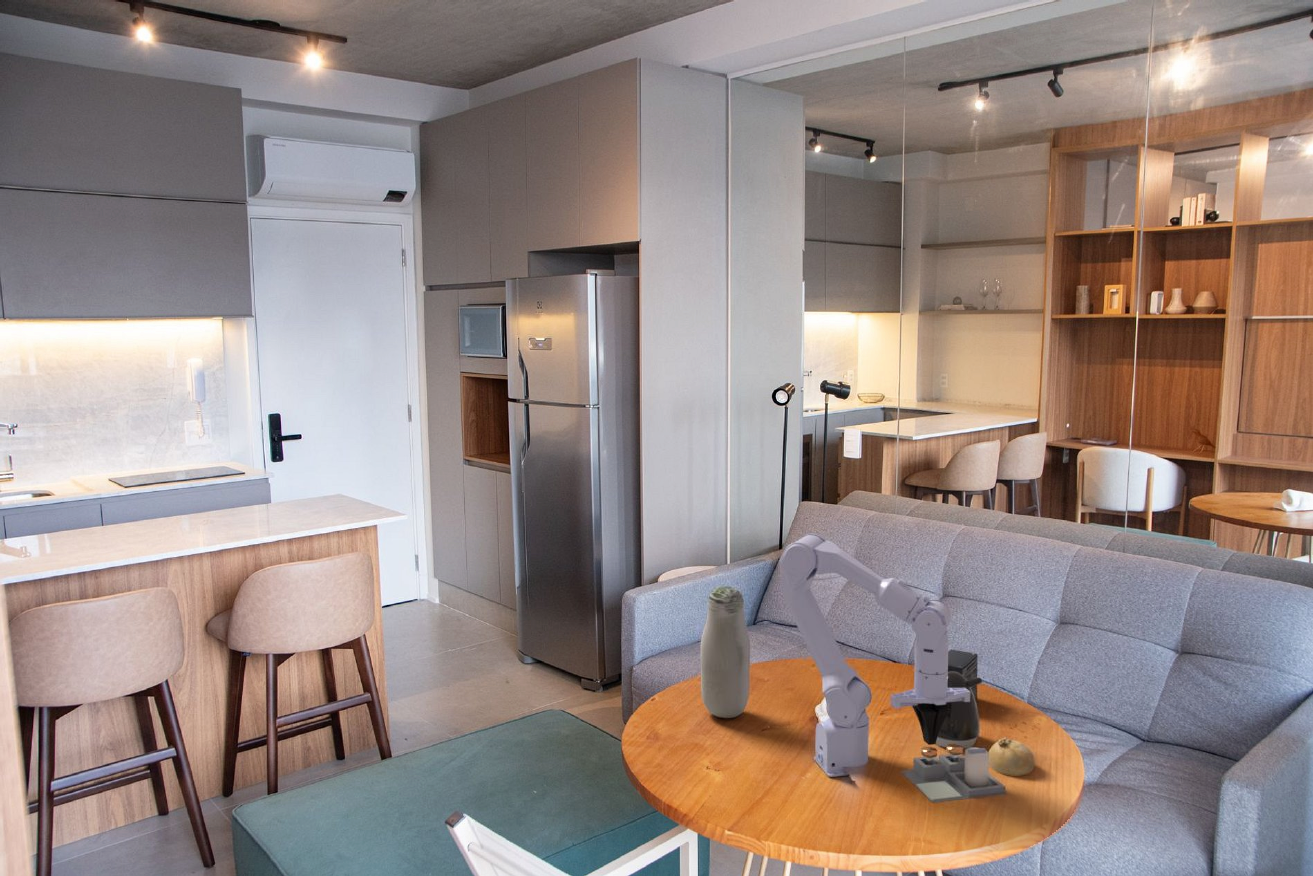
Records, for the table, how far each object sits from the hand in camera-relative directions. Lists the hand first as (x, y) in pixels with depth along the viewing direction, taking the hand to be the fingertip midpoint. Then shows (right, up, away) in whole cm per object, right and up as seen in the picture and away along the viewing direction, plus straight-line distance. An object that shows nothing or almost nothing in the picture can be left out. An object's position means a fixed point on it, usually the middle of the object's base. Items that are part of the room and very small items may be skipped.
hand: (929, 742), depth 169 cm
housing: (+3, -8, -2) cm, 9 cm away
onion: (+16, -7, +3) cm, 18 cm away
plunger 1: (0, -4, 0) cm, 4 cm away
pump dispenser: (+9, -6, +15) cm, 18 cm away
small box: (+16, -4, +37) cm, 41 cm away
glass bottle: (-34, -5, +32) cm, 47 cm away
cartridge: (+7, -6, -4) cm, 10 cm away
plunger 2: (+5, -4, +1) cm, 7 cm away
